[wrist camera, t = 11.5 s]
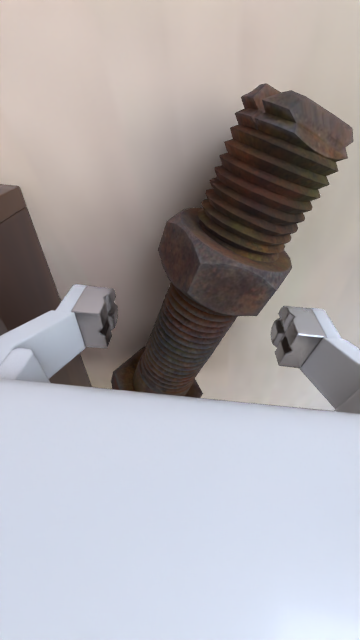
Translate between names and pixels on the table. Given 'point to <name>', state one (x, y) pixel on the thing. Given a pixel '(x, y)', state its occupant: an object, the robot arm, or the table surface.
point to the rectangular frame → (27, 278)
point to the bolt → (236, 235)
